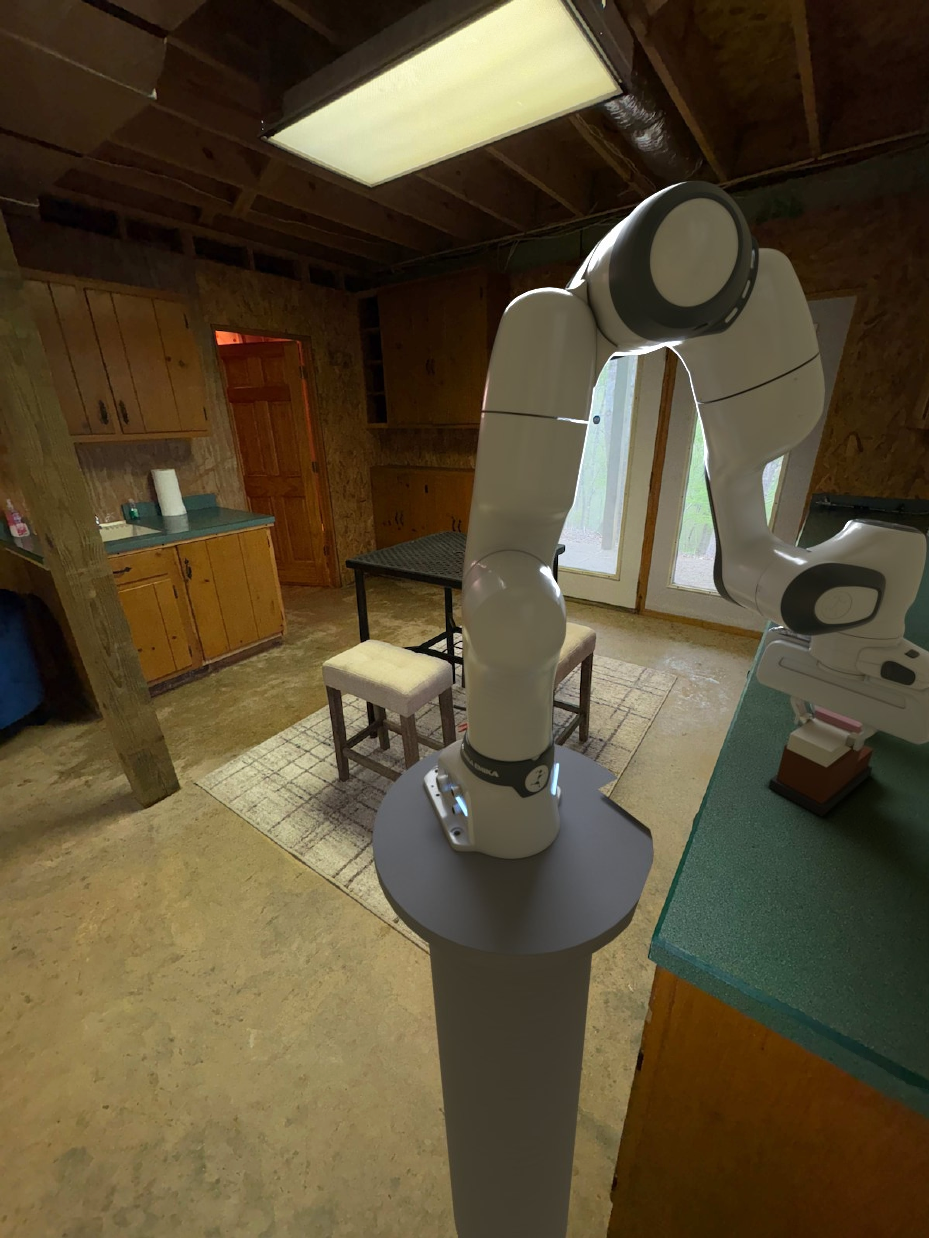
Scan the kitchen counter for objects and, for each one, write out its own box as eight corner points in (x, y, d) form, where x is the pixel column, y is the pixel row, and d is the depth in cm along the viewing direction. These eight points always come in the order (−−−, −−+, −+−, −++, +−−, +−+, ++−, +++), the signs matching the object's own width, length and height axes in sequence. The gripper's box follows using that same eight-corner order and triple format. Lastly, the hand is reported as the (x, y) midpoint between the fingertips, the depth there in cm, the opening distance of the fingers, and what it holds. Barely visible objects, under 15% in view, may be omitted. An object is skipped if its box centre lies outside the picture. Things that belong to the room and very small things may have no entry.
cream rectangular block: (828, 768, 63) (835, 745, 62) (785, 747, 68) (790, 725, 66) (862, 742, 68) (869, 719, 67) (819, 724, 72) (825, 703, 71)
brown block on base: (821, 816, 65) (835, 771, 63) (768, 787, 71) (778, 745, 68) (870, 774, 73) (884, 733, 70) (818, 751, 78) (829, 711, 75)
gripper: (757, 627, 69) (740, 710, 74) (946, 684, 53) (908, 785, 58) (780, 617, 72) (762, 697, 77) (966, 668, 56) (928, 765, 61)
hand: (826, 735), depth 67 cm, fingers closed on cream rectangular block, 5 cm apart
